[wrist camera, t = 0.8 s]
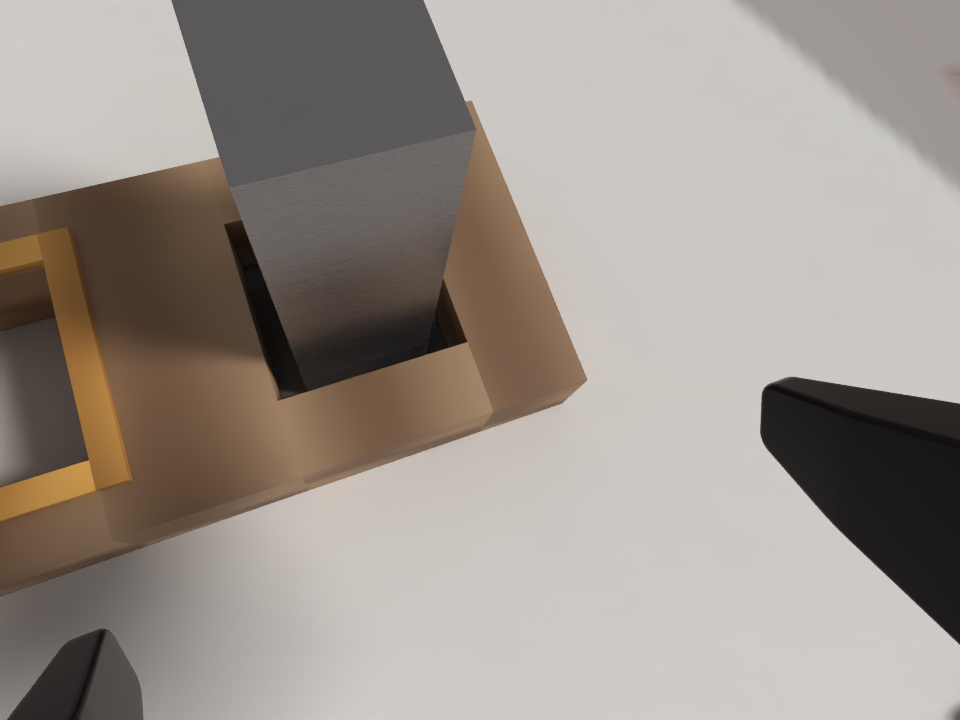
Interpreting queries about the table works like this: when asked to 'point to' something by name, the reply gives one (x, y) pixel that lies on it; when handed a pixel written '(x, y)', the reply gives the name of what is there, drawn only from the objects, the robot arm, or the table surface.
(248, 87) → the peg
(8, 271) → the wooden peg holder
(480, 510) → the table surface
